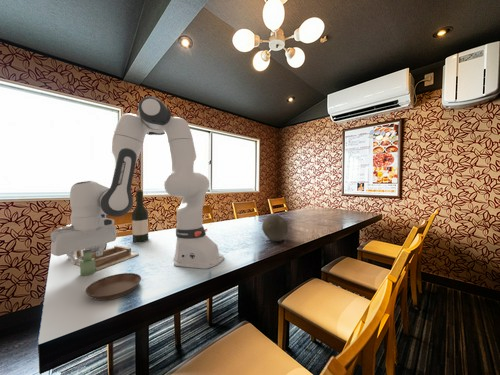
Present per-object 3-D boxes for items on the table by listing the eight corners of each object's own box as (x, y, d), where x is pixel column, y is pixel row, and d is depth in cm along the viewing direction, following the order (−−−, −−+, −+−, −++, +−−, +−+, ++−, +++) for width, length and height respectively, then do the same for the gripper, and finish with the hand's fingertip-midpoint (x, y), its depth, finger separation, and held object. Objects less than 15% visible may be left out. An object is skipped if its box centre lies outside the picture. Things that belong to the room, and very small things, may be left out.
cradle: (138, 255, 95) (138, 247, 95) (96, 270, 79) (96, 261, 79) (117, 250, 102) (116, 243, 102) (74, 264, 85) (74, 255, 85)
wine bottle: (151, 238, 123) (150, 189, 122) (142, 242, 115) (141, 190, 114) (138, 238, 124) (137, 189, 123) (129, 242, 116) (127, 190, 115)
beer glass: (89, 255, 96) (88, 224, 95) (72, 260, 89) (71, 227, 89) (80, 253, 98) (78, 223, 98) (62, 258, 92) (61, 226, 91)
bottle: (98, 271, 78) (97, 249, 78) (84, 277, 74) (83, 253, 74) (91, 269, 80) (90, 247, 80) (77, 274, 76) (76, 251, 76)
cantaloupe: (272, 236, 125) (272, 212, 125) (292, 241, 116) (292, 215, 115) (257, 241, 115) (257, 215, 115) (277, 247, 106) (277, 218, 105)
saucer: (134, 275, 75) (134, 268, 75) (147, 291, 64) (146, 283, 64) (83, 290, 65) (83, 282, 65) (88, 312, 54) (87, 302, 54)
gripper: (55, 230, 66) (57, 272, 66) (118, 219, 84) (119, 251, 85) (45, 228, 68) (47, 268, 69) (109, 218, 87) (110, 249, 87)
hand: (87, 259), depth 77 cm, fingers open, 7 cm apart
